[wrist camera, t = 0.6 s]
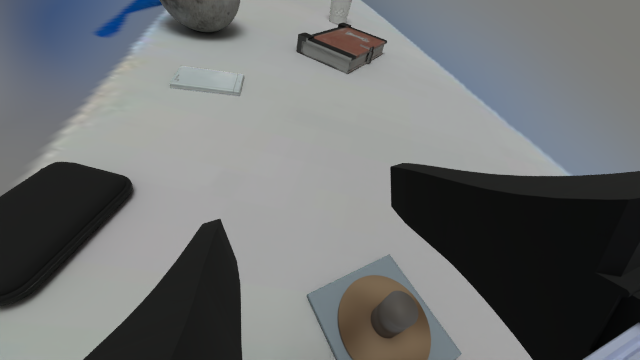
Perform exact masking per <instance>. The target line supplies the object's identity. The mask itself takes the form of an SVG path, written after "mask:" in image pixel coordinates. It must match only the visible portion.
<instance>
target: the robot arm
mask: <svg viewBox="0 0 640 360" xmlns="http://www.w3.org/2000/svg"><path fill="white" fill-rule="evenodd" d="M391 207H392V208H393V209H394V210H395V212H396V213H397V214H398V215H399V216H400V217H401V219H402V220H403V221H404V222H405V223H406V224H407V225H408V226H409V227H410V228H411V229H413V230H414V231H415V232H416V233H417V234H418V235H419V236H421V237H422V238H423V239H424V240H425V241H426V242H427V243H429V244H430V245H431V246H432V247H433V248H434V249H436V250H437V251H438V252H439V253H440V254H441V255H442V256H444V257H445V258H446V259H447V260H448V261H449V262H450V263H451V264H452V265H453V266H454V267H455V268H456V269H457V270H458V271H459V272H460V273H461V274H462V275H463V276H464V277H465V278H466V280H467V281H468V282H469V283H470V284H471V285H472V286H473V287H474V288H475V289H476V290H477V292H478V293H479V294H480V295H481V296H482V297H483V298H484V300H485V301H486V302H487V303H488V304H489V305H490V306H491V308H492V309H493V310H494V311H495V312H496V314H497V315H498V316H499V317H500V318H501V320H502V321H503V322H504V323H505V325H506V326H507V327H508V328H509V329H510V331H511V332H512V333H513V334H514V336H515V337H516V338H517V339H518V341H519V342H520V343H521V345H522V346H523V347H524V349H525V350H526V351H527V353H528V354H529V355H530V356H531V358H532V359H533V360H640V171H637V172H626V173H616V174H601V175H583V176H514V175H497V174H486V173H477V172H469V171H461V170H454V169H447V168H441V167H434V166H427V165H420V164H411V163H401V164H398V165H395V166H392V167H391ZM83 360H242V347H241V293H240V279H239V272H238V266H237V260H236V258H235V255H234V253H233V250H232V248H231V245H230V242H229V240H228V237H227V235H226V232H225V230H224V227H223V225H222V222H221V220H220V219H217V220H214V221H211V222H208V223H204V224H202V226H201V227H200V228H199V230H198V231H197V232H196V234H195V235H194V237H193V238H192V240H191V241H190V243H189V244H188V245H187V247H186V248H185V250H184V251H183V252H182V254H181V255H180V256H179V258H178V259H177V261H176V262H175V263H174V264H173V266H172V267H171V268H170V269H169V271H168V272H167V273H166V274H165V276H164V277H163V278H162V279H161V281H160V282H159V283H158V284H157V286H156V287H155V288H154V289H153V290H152V291H151V293H150V294H149V295H148V296H147V297H146V298H145V299H144V300H143V302H142V303H141V304H140V305H139V306H138V307H137V308H136V309H135V310H134V311H133V312H132V313H131V314H130V315H129V316H128V317H127V318H126V319H125V320H124V321H123V322H122V323H121V324H120V325H119V326H118V327H117V328H116V329H115V330H114V331H113V332H112V333H111V334H110V335H109V336H108V337H107V338H106V339H105V340H103V341H102V342H101V343H100V344H99V345H98V346H97V347H96V348H95V349H94V350H93V351H92V352H91V353H90V354H89V355H88V356H87V357H85V358H84V359H83Z"/></svg>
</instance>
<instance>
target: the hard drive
mask: <svg viewBox="0 0 640 360" xmlns="http://www.w3.org/2000/svg"><path fill="white" fill-rule="evenodd" d="M243 81H244V74H238V73H230V72H224V71H217V70H209V69H202V68H195V67H188V66H181V67H180V68H179V69H178V71H177V72H176V74H175V76H174V77H173V79H172V80H171V81H170V88H173V89H182V90H190V91H199V92H207V93H216V94H225V95H234V96H240V93H241V89H242V85H243Z"/></svg>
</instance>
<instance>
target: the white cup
mask: <svg viewBox="0 0 640 360" xmlns="http://www.w3.org/2000/svg"><path fill="white" fill-rule="evenodd" d="M351 2H352V0H331V7H330V18H329V21H330V22H332V23H335V24H339V23H346V19H347V16H348V13H349V9H350V5H351Z"/></svg>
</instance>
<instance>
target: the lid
mask: <svg viewBox="0 0 640 360" xmlns="http://www.w3.org/2000/svg"><path fill="white" fill-rule="evenodd" d="M338 328H339V334H340V337H341V340H342V343H343V345H344V347H345V349H346V351H347V353H348V354H349V356H350V357H351V359H352V360H428V357H429V354H430V348H431V333H430V327H429V323H428V320H427V317H426V315H425V312H424V310H423V309H422V307H421V305H420V303H419V302H418V300H417V299H416V298H415V297H414V295H413V294H412V293H411V292H410V291H409V290H408V289H407V288H405V287H404V286H403V285H401V284H400V283H398V282H397V281H395V280H393V279H391V278H388V277H385V276H380V275H369V276H365V277H362V278H359V279H358V280H356V281H354V282H353V283H352V284H351V285H350V286H349V287H348V288H347V290H346V291H345V293H344V294H343V296H342V298H341V301H340V304H339V308H338Z"/></svg>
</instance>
